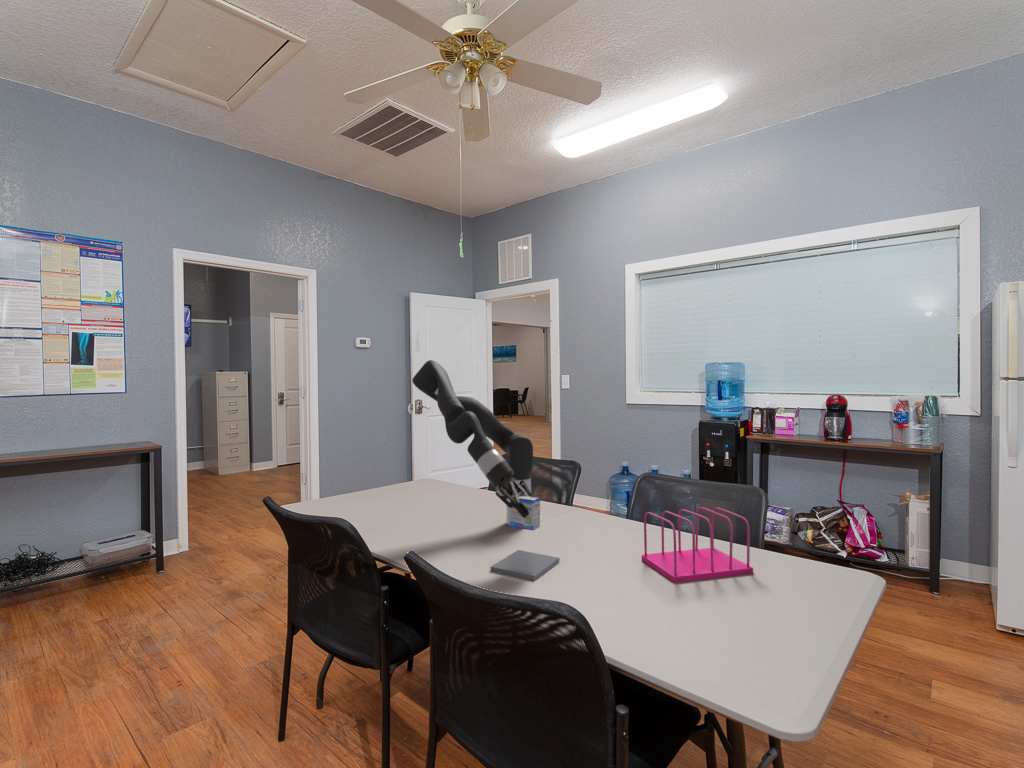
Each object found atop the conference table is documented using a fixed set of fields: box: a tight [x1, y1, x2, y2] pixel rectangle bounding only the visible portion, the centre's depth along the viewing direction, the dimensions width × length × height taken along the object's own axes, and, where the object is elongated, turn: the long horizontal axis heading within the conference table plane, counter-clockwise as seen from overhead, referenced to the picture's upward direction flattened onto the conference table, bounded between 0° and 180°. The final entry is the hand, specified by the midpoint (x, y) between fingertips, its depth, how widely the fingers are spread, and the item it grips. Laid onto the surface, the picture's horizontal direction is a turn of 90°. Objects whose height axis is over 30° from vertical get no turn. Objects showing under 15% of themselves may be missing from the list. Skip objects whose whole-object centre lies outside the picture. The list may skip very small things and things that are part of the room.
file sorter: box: [641, 506, 754, 584], centre depth 144 cm, size 17×25×16 cm
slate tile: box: [490, 549, 560, 582], centre depth 145 cm, size 16×14×1 cm
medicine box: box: [509, 495, 541, 531], centre depth 145 cm, size 8×4×9 cm, turn 62°
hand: (530, 513), depth 144 cm, fingers closed on medicine box, 4 cm apart
